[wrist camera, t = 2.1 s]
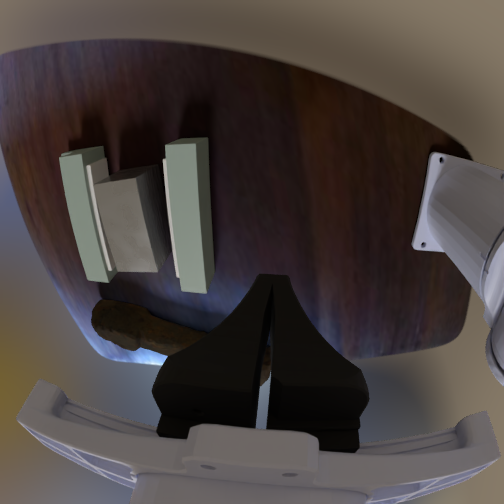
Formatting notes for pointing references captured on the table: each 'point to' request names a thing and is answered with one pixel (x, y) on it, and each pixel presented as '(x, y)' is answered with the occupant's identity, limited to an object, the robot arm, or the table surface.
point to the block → (135, 218)
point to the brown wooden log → (148, 331)
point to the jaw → (190, 212)
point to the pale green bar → (88, 210)
